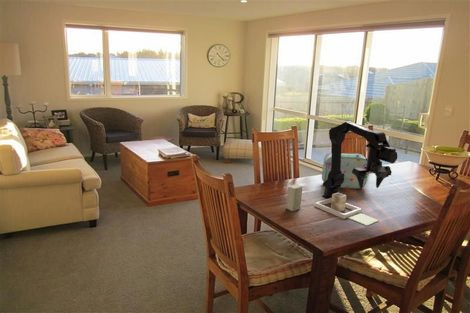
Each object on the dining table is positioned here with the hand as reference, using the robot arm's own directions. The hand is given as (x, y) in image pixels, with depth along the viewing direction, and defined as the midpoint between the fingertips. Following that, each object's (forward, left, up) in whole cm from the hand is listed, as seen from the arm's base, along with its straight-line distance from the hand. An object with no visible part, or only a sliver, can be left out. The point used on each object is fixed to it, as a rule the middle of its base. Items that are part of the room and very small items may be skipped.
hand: (369, 188), depth 177 cm
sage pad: (+4, -8, -13) cm, 16 cm away
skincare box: (-24, -27, -14) cm, 39 cm away
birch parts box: (-11, -8, -14) cm, 19 cm away
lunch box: (-32, +26, -14) cm, 43 cm away
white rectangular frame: (-11, -8, -13) cm, 19 cm away
